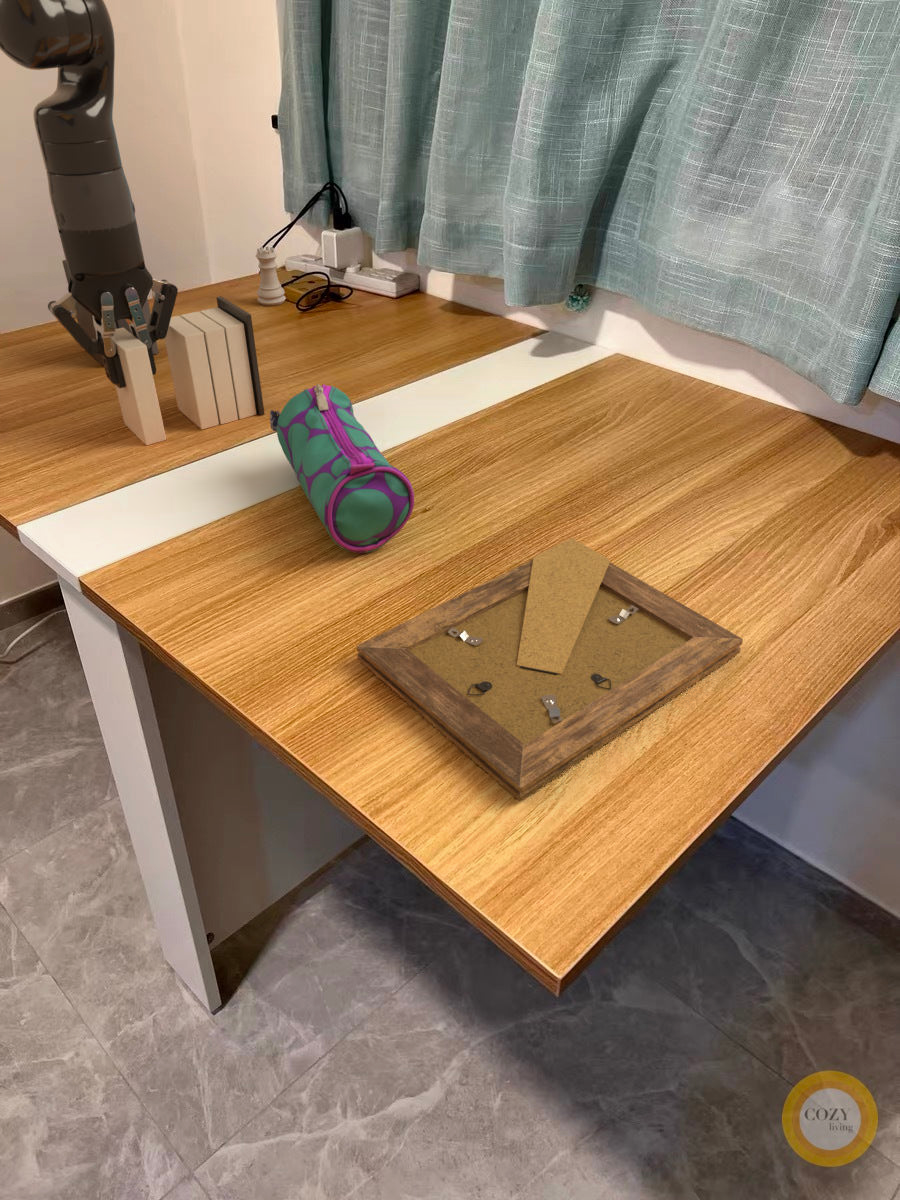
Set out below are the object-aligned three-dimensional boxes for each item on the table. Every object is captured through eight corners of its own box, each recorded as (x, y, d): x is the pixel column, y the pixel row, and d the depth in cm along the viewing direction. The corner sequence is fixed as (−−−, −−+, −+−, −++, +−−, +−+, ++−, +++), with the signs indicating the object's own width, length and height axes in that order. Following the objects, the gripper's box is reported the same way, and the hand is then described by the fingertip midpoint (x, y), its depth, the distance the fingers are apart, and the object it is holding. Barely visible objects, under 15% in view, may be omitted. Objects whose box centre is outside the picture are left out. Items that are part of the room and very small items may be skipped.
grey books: (103, 367, 118) (81, 275, 111) (84, 349, 123) (61, 260, 116) (160, 354, 121) (142, 264, 114) (139, 337, 127) (120, 250, 119)
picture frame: (570, 553, 81) (357, 660, 69) (571, 537, 80) (355, 643, 68) (739, 654, 70) (520, 803, 58) (744, 636, 69) (521, 785, 57)
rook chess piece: (252, 305, 138) (245, 252, 133) (264, 296, 141) (257, 244, 137) (279, 307, 137) (273, 253, 132) (290, 298, 140) (284, 245, 136)
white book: (146, 445, 99) (124, 350, 93) (124, 424, 104) (102, 331, 97) (166, 440, 100) (146, 345, 94) (144, 418, 105) (123, 327, 98)
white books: (203, 431, 102) (184, 329, 95) (176, 408, 107) (156, 309, 100) (264, 414, 106) (251, 314, 99) (235, 392, 111) (220, 296, 104)
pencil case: (275, 467, 95) (264, 382, 89) (354, 452, 98) (348, 369, 92) (329, 569, 80) (319, 474, 74) (421, 548, 82) (419, 455, 76)
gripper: (149, 200, 94) (180, 358, 104) (13, 220, 87) (60, 386, 98) (177, 214, 89) (206, 378, 99) (34, 236, 83) (81, 409, 93)
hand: (133, 381), depth 99 cm, fingers closed on white book, 2 cm apart
